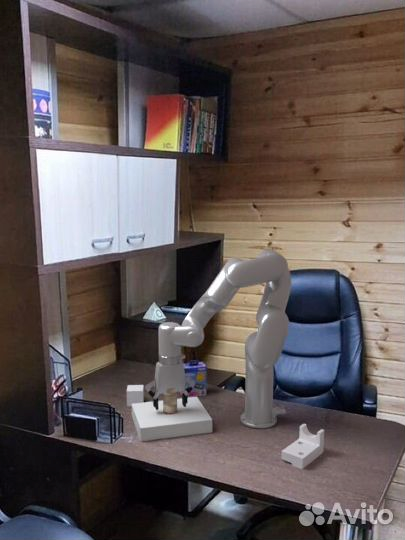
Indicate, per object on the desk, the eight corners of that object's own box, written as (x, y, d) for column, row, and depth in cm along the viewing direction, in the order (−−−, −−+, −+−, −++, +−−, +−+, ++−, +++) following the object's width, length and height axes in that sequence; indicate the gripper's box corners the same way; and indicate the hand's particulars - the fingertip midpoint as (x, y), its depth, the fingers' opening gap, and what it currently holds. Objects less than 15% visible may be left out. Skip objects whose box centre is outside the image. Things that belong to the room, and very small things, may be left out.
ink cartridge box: (182, 398, 210) (182, 362, 207) (179, 393, 215) (178, 358, 212) (207, 395, 213) (207, 360, 210) (203, 390, 218) (203, 355, 215)
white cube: (126, 406, 203) (126, 391, 202) (128, 400, 209) (127, 385, 208) (143, 406, 203) (142, 390, 202) (143, 399, 209) (143, 384, 208)
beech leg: (176, 418, 191) (175, 383, 189) (179, 424, 186) (179, 388, 184) (161, 420, 190) (160, 384, 188) (164, 426, 185) (164, 390, 183)
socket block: (196, 408, 201) (196, 396, 200) (212, 432, 182) (212, 419, 181) (131, 415, 194) (131, 403, 194) (140, 441, 175) (140, 428, 175)
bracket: (303, 445, 173) (303, 423, 172) (323, 453, 169) (324, 430, 167) (281, 462, 163) (282, 438, 162) (302, 470, 159) (303, 445, 158)
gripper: (192, 353, 190) (192, 400, 193) (142, 357, 186) (143, 405, 188) (197, 360, 183) (197, 408, 186) (146, 365, 178) (147, 414, 181)
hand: (170, 407), depth 187 cm, fingers open, 9 cm apart
